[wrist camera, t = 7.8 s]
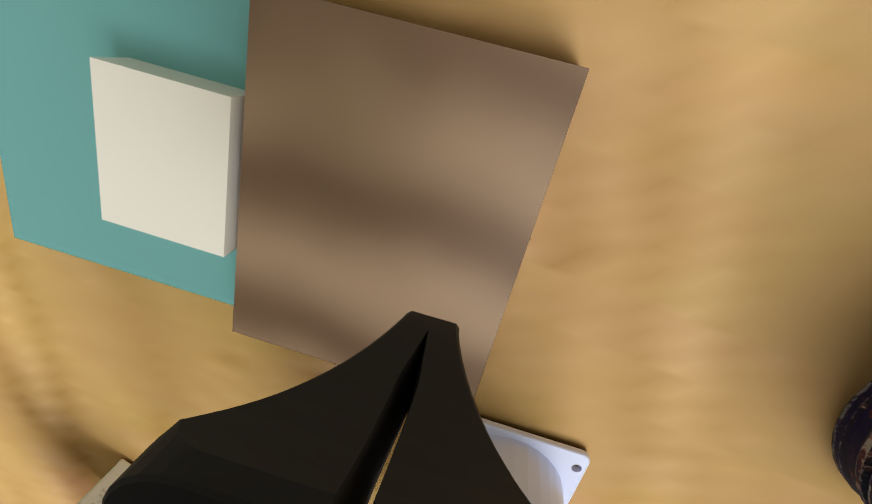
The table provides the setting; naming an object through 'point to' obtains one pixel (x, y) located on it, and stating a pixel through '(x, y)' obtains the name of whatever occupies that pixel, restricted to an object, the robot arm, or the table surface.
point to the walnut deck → (387, 177)
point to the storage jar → (855, 443)
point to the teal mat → (75, 129)
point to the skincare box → (104, 484)
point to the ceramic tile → (168, 152)
